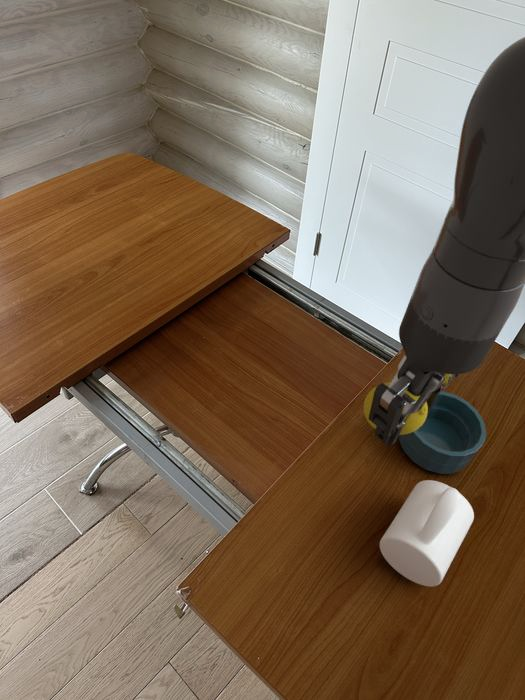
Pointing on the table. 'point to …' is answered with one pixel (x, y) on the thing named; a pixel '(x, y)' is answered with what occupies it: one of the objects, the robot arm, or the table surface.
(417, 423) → the lemon
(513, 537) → the table surface
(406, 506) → the mug
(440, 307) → the robot arm
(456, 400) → the bowl
